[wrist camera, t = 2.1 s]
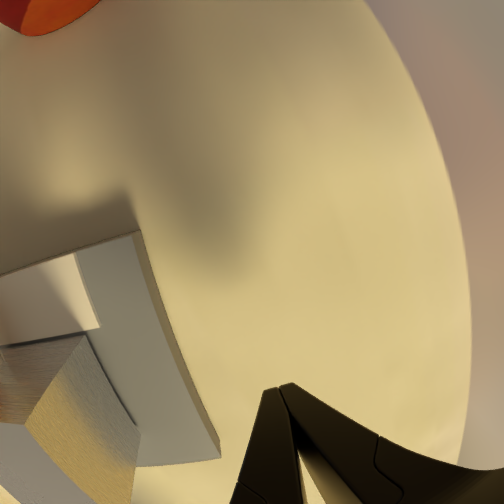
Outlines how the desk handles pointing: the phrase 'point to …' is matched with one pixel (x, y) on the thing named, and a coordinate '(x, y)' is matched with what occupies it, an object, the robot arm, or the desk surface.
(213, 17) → the desk surface
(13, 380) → the grey faceted block
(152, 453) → the gauge board
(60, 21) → the paper cup
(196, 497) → the desk surface
